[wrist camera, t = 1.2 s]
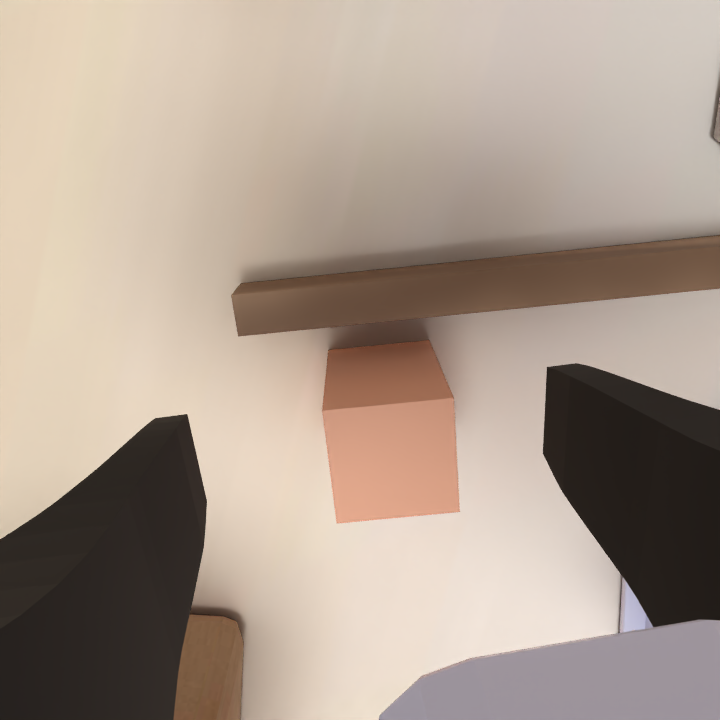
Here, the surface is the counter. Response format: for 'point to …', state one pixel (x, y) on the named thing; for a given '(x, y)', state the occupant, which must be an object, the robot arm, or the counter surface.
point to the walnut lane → (478, 286)
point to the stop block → (390, 432)
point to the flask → (717, 124)
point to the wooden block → (210, 670)
